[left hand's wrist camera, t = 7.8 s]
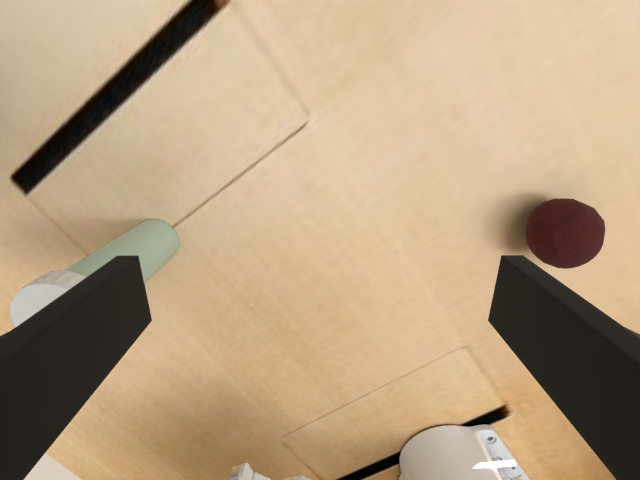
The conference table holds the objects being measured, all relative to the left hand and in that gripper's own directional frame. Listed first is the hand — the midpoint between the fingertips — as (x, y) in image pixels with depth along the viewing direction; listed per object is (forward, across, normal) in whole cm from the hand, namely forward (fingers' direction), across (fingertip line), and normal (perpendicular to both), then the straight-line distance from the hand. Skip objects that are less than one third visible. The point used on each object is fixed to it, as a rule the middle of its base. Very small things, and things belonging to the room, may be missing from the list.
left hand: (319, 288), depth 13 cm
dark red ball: (+28, +27, -6) cm, 39 cm away
